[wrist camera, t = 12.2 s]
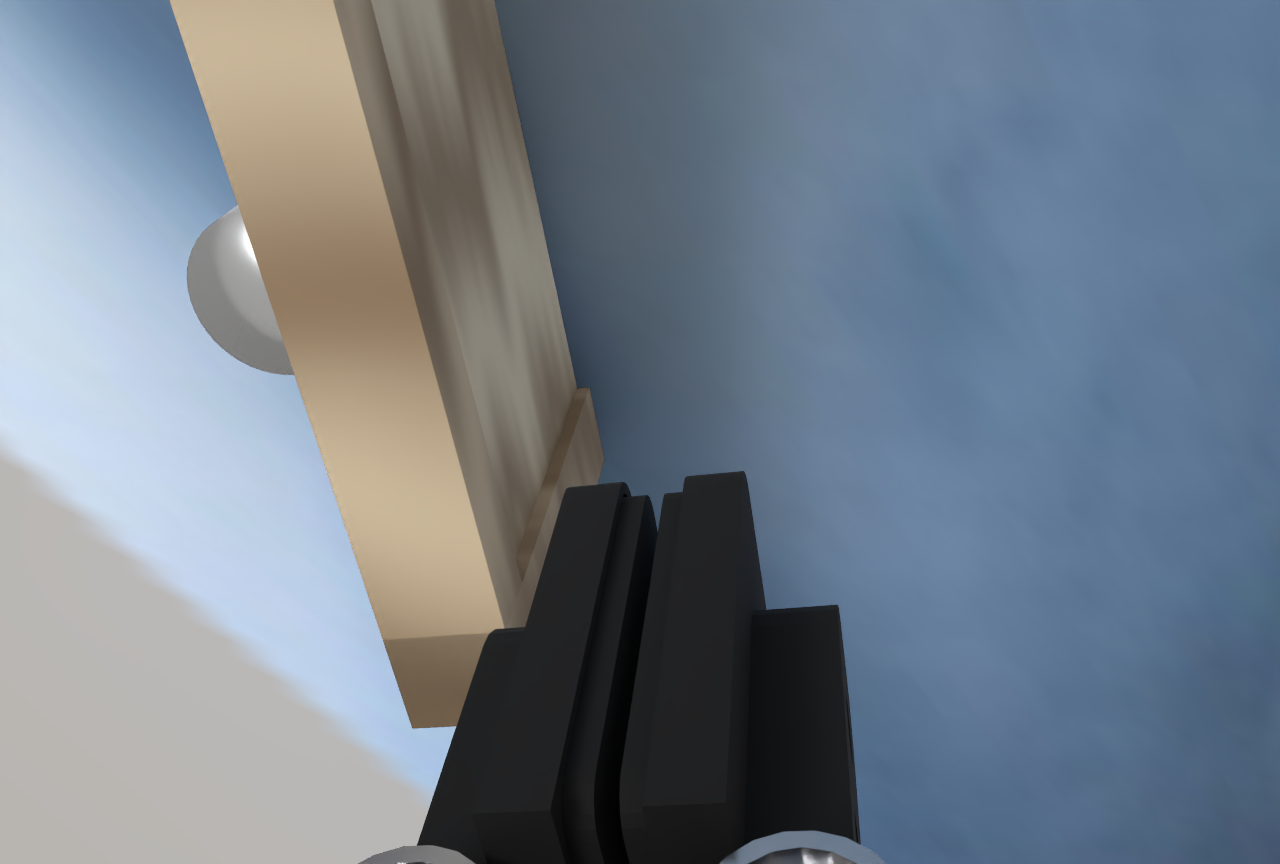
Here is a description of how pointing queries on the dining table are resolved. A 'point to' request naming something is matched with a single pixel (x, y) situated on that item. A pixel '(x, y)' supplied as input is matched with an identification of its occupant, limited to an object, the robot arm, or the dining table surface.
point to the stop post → (235, 296)
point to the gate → (407, 302)
